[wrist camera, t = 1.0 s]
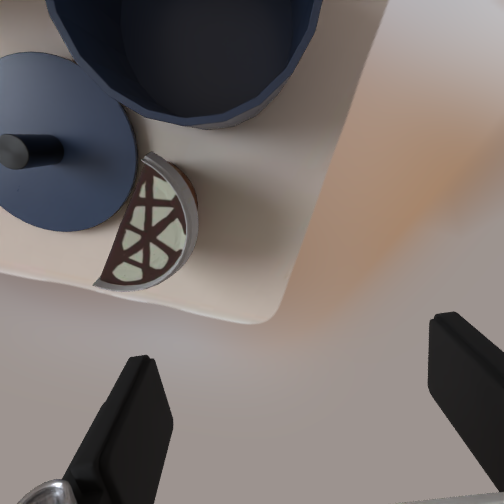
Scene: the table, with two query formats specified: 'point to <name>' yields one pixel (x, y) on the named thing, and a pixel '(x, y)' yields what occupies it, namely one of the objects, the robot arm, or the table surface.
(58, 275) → the table surface
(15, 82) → the pot lid
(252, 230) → the table surface
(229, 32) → the pot
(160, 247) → the food container
